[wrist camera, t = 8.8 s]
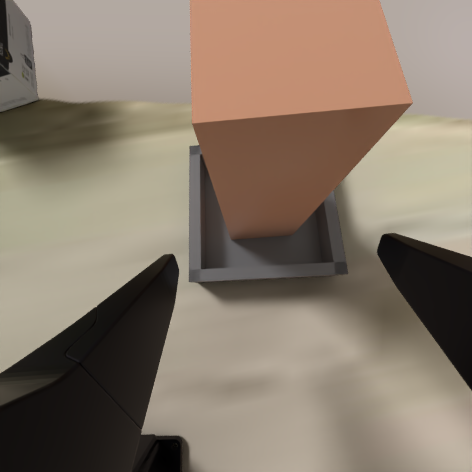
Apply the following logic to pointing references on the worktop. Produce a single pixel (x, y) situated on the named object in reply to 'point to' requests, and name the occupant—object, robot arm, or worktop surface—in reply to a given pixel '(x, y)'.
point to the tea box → (16, 58)
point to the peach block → (288, 102)
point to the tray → (257, 240)
